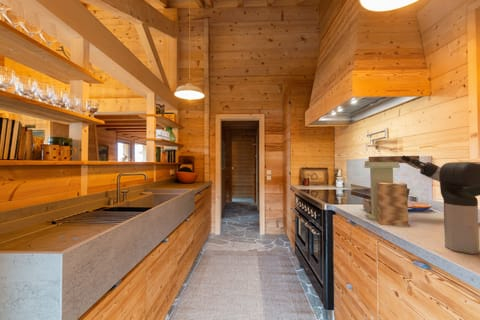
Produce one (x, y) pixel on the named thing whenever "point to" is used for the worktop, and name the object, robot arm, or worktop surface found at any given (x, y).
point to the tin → (367, 205)
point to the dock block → (392, 204)
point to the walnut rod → (391, 159)
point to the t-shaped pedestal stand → (379, 181)
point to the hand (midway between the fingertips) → (401, 157)
